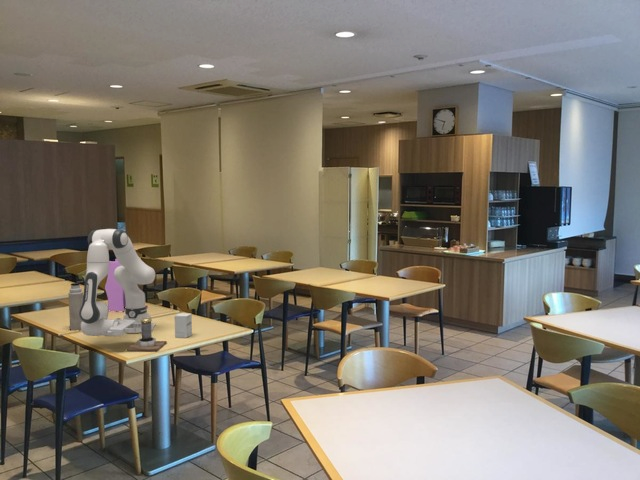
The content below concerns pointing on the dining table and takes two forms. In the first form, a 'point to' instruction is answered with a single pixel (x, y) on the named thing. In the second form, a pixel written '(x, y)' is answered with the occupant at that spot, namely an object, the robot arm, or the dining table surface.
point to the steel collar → (146, 343)
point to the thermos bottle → (75, 306)
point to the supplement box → (183, 325)
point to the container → (114, 289)
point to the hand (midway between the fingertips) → (138, 327)
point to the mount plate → (146, 349)
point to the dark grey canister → (146, 329)
